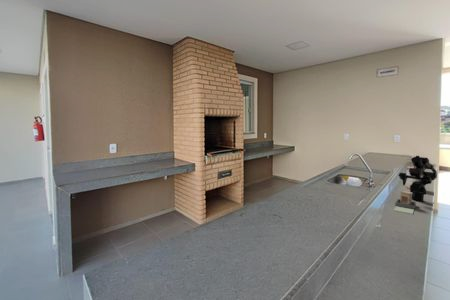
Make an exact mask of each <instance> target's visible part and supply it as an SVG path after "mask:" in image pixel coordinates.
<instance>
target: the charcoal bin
mask: <svg viewBox="0 0 450 300" xmlns="http://www.w3.org/2000/svg"><path fill="white" fill-rule="evenodd" d="M394 206H395V207H396V206H398V207H403V208H408V209H414V211H415V209H416V206H417V201H413V200H412V201H411V205H407V204H402V203H400V199H399V198H397V199H396V201H395V205H394Z"/></svg>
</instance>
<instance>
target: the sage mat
mask: <svg viewBox="0 0 450 300" xmlns="http://www.w3.org/2000/svg"><path fill="white" fill-rule="evenodd" d="M393 211H395V212H399V213H403V214H410V215H413V214H414V211H415V210H414V209H408V208H403V207H398V206H395V207H394V209H393Z"/></svg>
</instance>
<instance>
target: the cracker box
mask: <svg viewBox="0 0 450 300" xmlns="http://www.w3.org/2000/svg"><path fill="white" fill-rule="evenodd" d="M410 168H414V166H413V165H411V166H409V165H408V166H406V172H405V173H406V175H410V174H409V173H410V172H409V169H410ZM421 177H423V176H422V175H421ZM406 180H407V181H406V183H405V185H404V186H405V189H408V190H410V185H412V183H413V182H414V181H417V182H418V181H419V180H417V179H412V178H407V179H406Z"/></svg>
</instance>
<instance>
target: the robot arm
mask: <svg viewBox="0 0 450 300" xmlns="http://www.w3.org/2000/svg"><path fill="white" fill-rule="evenodd" d="M410 160H411V164H412V166H413V167H414V168H410V169H409V172H410V173H409V174H410V175H406V173H407V172H399V174H398V176H399V179H400V180H402V186H406V181H407V180H406V179H407V178H412V179H417V180H419V181H418V182H417V181H414V182H413V183H412V185H410V189H409V192H410V193H412V201H413V202H419V203H420V202H421V203H425V202H426V201H425V200H424V197H425V195H427V189H426V185H429V184H430V185H431V184H432V182H433V181H434V180H436V179H437V178H438V172H437V170H436V169H435V168H434V165H433V164H432V163H430V159H429V158H428V157H424V156H421V157H420V155H415V156H413V157H411V159H410ZM426 170H431V171H426ZM421 175H422V176H423V177H421Z"/></svg>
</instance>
